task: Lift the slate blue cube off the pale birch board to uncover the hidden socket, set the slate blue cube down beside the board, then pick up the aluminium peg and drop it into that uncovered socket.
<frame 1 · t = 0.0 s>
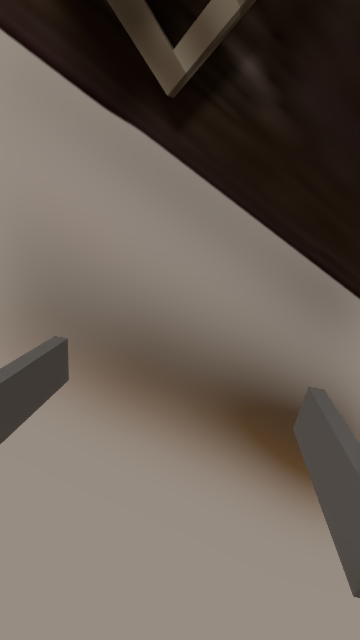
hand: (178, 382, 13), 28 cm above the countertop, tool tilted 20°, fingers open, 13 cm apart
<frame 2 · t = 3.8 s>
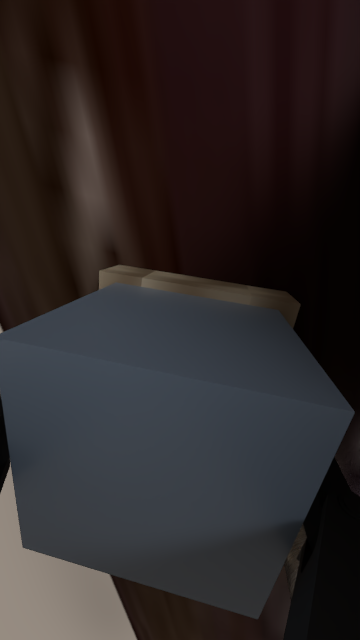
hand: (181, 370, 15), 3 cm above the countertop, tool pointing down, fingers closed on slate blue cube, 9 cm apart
slate blue cube: (183, 367, 15), point 3 cm above the countertop, touching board, gripper
peg: (295, 469, 20), on the countertop
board: (180, 402, 19), on the countertop
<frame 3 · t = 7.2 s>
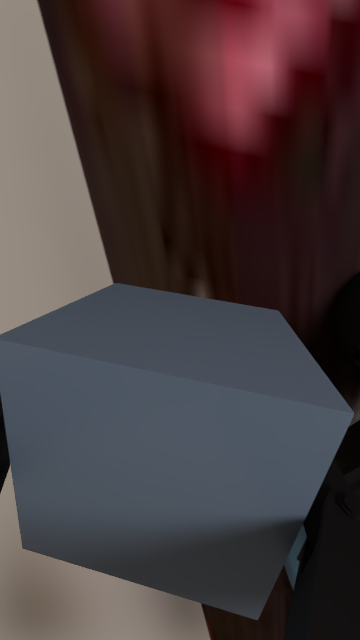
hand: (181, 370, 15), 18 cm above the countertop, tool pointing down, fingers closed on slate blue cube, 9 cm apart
slate blue cube: (183, 367, 15), point 18 cm above the countertop, touching gripper
when the fingers open (1 cm above the countertop, at t = 10.5 s): slate blue cube drops 1 cm, on the countertop.
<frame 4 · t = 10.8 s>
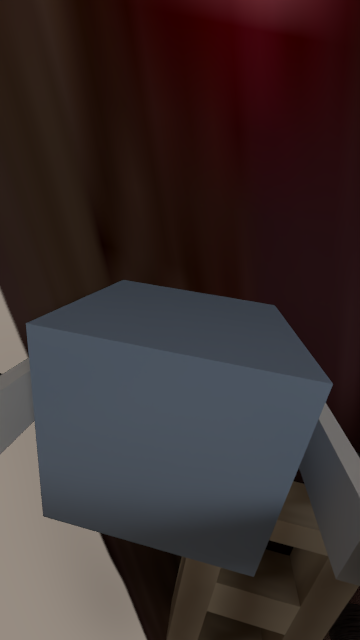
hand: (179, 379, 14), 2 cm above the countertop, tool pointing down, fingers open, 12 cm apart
slate blue cube: (185, 358, 16), on the countertop
peg: (352, 619, 22), on the countertop
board: (247, 559, 21), on the countertop
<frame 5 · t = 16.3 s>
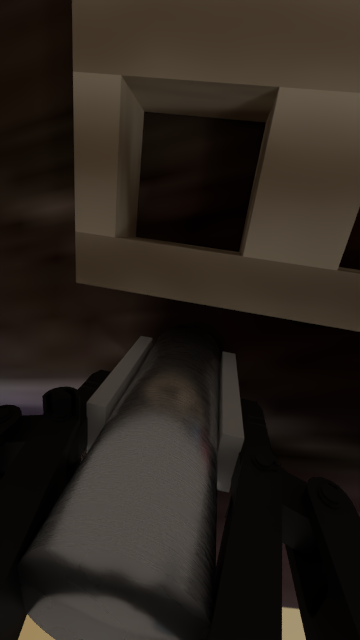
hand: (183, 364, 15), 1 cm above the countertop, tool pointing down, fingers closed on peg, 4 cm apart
peg: (186, 355, 16), on the countertop, touching gripper
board: (291, 197, 12), on the countertop
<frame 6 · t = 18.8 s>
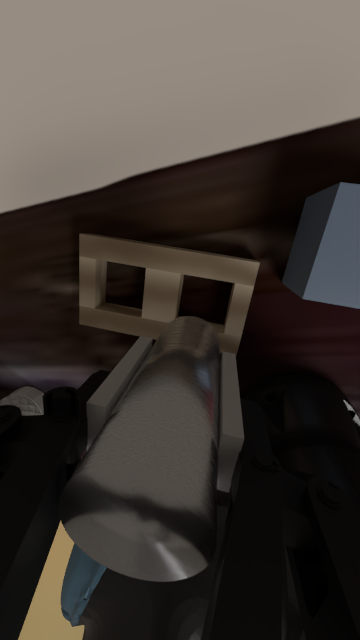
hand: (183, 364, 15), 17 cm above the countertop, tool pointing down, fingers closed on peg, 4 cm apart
slate blue cube: (335, 248, 27), on the countertop
peg: (189, 344, 18), point 14 cm above the countertop, touching gripper
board: (165, 291, 31), on the countertop
white cup: (34, 402, 41), on the countertop
when the fingers open (4 cm above the countertop, at t = 21.3 s): peg drops 1 cm, resting in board.
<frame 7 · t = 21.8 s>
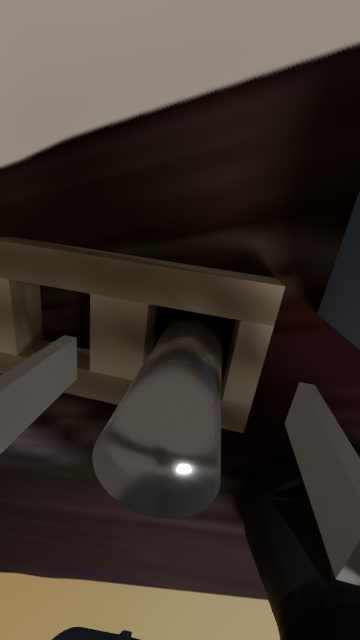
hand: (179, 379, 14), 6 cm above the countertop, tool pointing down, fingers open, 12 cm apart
peg: (193, 336, 19), resting in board
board: (131, 325, 20), on the countertop
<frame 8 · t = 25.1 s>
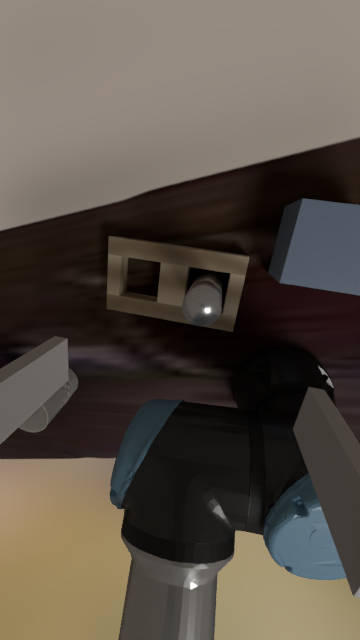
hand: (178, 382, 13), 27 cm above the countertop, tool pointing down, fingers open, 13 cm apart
slate blue cube: (308, 245, 34), on the countertop
peg: (207, 286, 38), resting in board
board: (175, 281, 39), on the countertop
white cup: (63, 378, 49), on the countertop
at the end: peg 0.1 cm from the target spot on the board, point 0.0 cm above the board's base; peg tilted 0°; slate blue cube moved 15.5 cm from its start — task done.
